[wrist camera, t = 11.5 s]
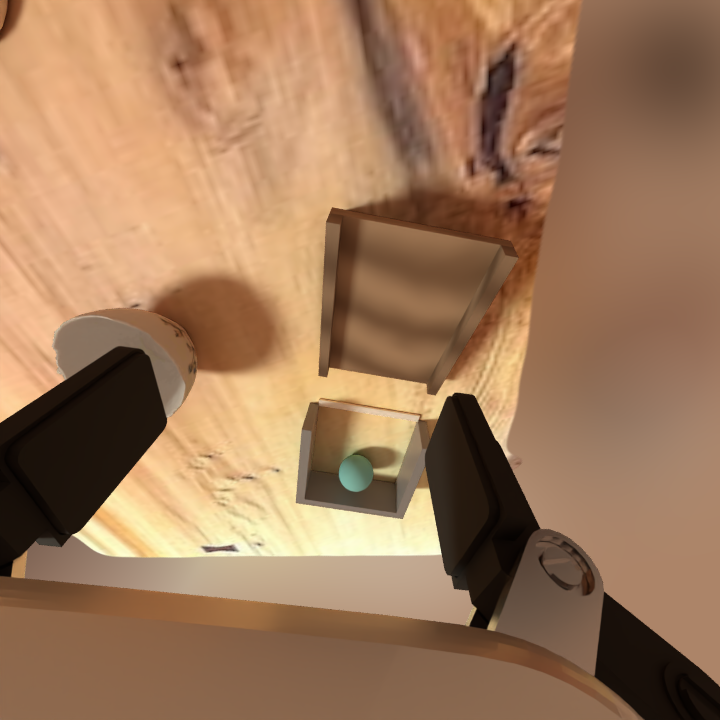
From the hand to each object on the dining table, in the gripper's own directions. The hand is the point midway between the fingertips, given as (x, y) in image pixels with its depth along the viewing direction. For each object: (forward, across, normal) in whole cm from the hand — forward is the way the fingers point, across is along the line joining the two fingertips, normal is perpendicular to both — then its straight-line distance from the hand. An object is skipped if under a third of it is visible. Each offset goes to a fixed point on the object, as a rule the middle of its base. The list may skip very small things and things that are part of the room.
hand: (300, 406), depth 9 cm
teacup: (+24, +22, +14) cm, 35 cm away
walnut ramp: (+23, -6, +5) cm, 24 cm away
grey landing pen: (+23, -5, +27) cm, 36 cm away
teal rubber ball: (+22, -5, +28) cm, 36 cm away
